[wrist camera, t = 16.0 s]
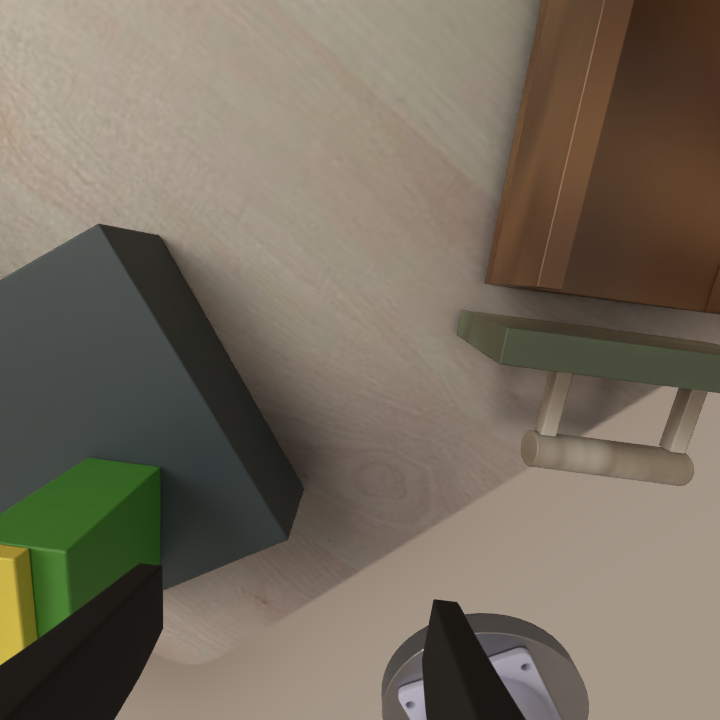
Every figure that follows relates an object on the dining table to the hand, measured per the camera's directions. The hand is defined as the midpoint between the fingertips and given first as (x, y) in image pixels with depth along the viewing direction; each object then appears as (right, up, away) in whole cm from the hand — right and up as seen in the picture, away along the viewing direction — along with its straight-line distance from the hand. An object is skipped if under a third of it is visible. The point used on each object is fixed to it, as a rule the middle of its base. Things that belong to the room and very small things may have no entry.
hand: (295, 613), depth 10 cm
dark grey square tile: (-11, +3, +10) cm, 15 cm away
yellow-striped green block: (-9, 0, +7) cm, 11 cm away
